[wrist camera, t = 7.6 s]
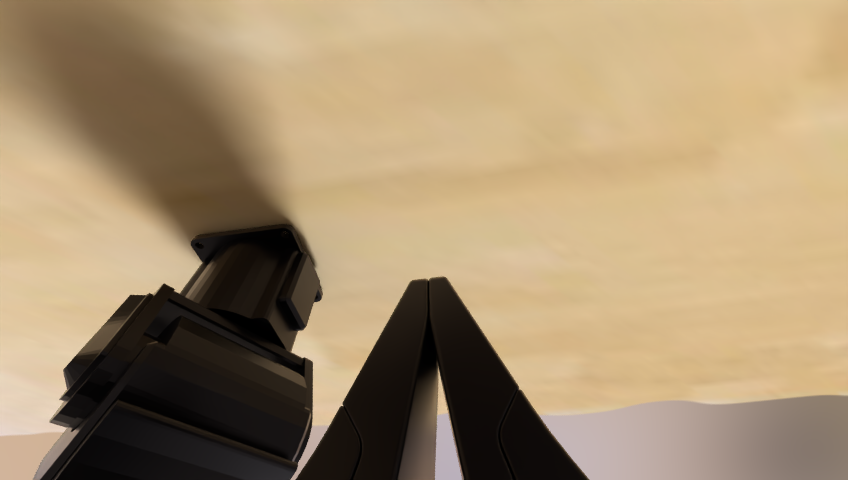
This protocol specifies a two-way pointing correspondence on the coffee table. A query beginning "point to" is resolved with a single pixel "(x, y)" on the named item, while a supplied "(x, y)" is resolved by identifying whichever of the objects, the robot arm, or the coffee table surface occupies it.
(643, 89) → the coffee table surface
